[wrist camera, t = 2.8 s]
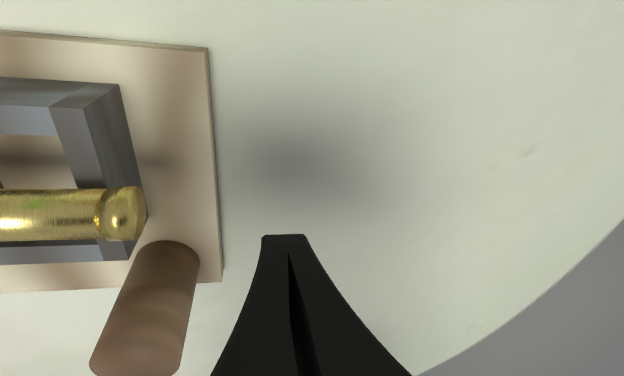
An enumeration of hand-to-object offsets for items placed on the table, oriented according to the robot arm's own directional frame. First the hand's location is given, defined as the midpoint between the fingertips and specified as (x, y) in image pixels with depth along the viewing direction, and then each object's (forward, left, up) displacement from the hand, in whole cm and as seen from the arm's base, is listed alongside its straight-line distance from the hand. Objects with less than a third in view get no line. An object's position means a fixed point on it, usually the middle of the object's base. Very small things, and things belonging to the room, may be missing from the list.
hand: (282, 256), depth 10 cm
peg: (+6, +7, -7) cm, 12 cm away
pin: (+10, 0, -4) cm, 10 cm away
